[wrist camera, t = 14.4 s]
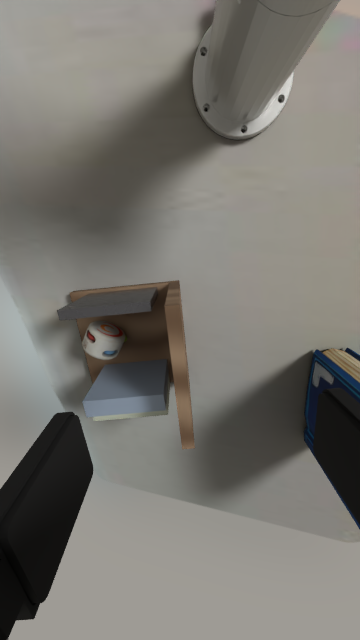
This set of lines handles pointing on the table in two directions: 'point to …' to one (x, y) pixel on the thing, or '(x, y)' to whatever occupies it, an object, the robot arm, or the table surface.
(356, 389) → the book
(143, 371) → the standing books
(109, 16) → the table surface
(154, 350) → the shelf
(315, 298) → the table surface
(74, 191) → the table surface
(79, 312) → the bookend
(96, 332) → the roller toy
